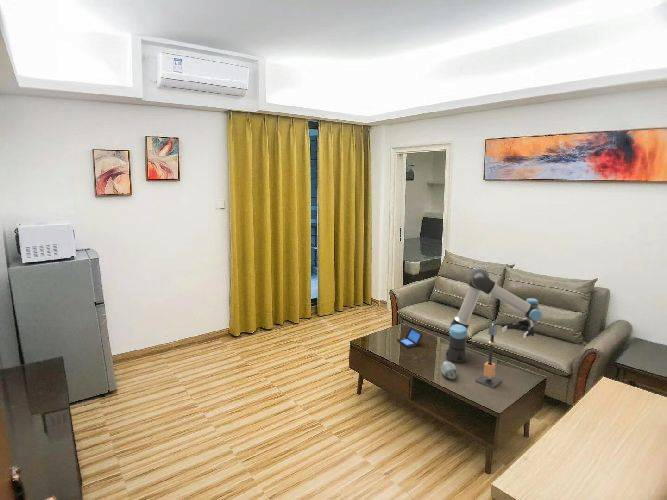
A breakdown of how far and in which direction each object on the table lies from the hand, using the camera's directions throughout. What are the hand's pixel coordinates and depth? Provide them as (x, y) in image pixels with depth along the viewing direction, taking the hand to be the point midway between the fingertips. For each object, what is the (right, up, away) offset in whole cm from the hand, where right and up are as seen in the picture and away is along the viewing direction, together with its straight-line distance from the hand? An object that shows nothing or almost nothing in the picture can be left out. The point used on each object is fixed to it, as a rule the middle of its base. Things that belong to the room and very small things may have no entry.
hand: (512, 333), depth 263 cm
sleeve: (-17, -26, -3) cm, 31 cm away
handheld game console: (-57, -19, +54) cm, 81 cm away
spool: (-40, -29, +5) cm, 50 cm away
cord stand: (-17, -30, -2) cm, 34 cm away
